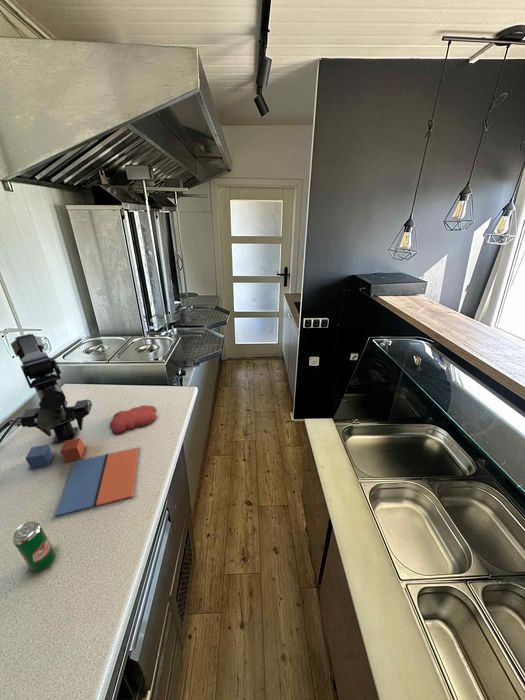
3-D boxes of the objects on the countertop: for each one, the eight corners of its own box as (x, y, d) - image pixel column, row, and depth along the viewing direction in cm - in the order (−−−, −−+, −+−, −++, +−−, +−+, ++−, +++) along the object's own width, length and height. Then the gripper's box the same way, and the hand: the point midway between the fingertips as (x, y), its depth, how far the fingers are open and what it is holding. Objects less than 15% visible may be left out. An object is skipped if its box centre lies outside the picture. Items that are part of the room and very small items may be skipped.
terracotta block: (69, 451, 102) (64, 440, 99) (84, 448, 103) (80, 437, 101) (64, 461, 97) (60, 451, 95) (81, 458, 99) (76, 447, 96)
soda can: (43, 574, 67) (23, 544, 62) (25, 570, 68) (4, 539, 63) (61, 552, 71) (44, 521, 66) (44, 547, 72) (26, 517, 67)
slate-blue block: (36, 458, 99) (31, 447, 97) (53, 454, 100) (48, 444, 98) (30, 469, 95) (25, 458, 93) (48, 465, 96) (42, 454, 94)
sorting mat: (75, 462, 97) (74, 461, 97) (138, 449, 102) (137, 447, 102) (55, 516, 80) (54, 515, 79) (132, 497, 85) (131, 495, 84)
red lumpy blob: (110, 437, 108) (109, 433, 107) (110, 416, 119) (108, 412, 118) (158, 422, 115) (157, 418, 114) (153, 404, 126) (153, 400, 125)
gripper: (1, 416, 79) (23, 456, 86) (76, 403, 84) (91, 443, 91) (19, 393, 89) (37, 432, 96) (85, 383, 94) (98, 420, 101)
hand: (65, 432), depth 96 cm, fingers open, 9 cm apart
